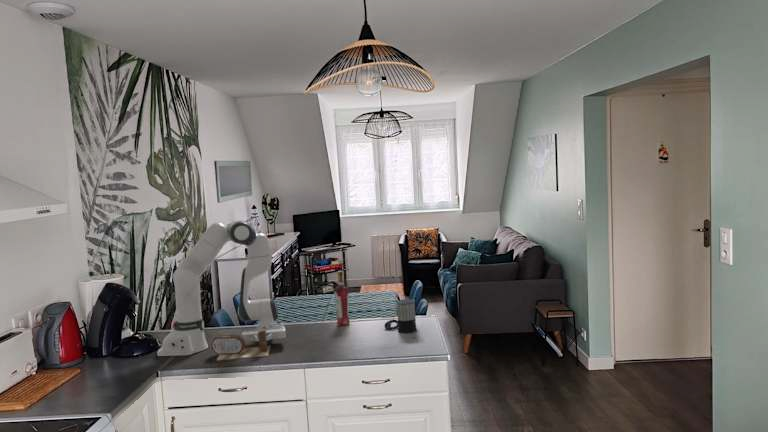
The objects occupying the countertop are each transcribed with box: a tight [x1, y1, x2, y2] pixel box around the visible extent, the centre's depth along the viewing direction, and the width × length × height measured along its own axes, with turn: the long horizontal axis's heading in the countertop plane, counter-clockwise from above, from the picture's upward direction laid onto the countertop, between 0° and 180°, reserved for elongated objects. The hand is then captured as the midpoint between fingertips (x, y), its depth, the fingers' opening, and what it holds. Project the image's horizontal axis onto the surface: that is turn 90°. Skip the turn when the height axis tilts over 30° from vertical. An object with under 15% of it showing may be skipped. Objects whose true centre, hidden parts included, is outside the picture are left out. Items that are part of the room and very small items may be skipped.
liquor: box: [333, 270, 351, 327], centre depth 297 cm, size 7×7×28 cm
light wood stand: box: [216, 329, 272, 362], centre depth 259 cm, size 22×14×10 cm, turn 96°
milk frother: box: [384, 298, 418, 334], centre depth 282 cm, size 14×16×15 cm
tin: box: [211, 334, 246, 355], centre depth 259 cm, size 15×3×8 cm, turn 84°
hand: (262, 339), depth 259 cm, fingers closed on light wood stand, 3 cm apart
